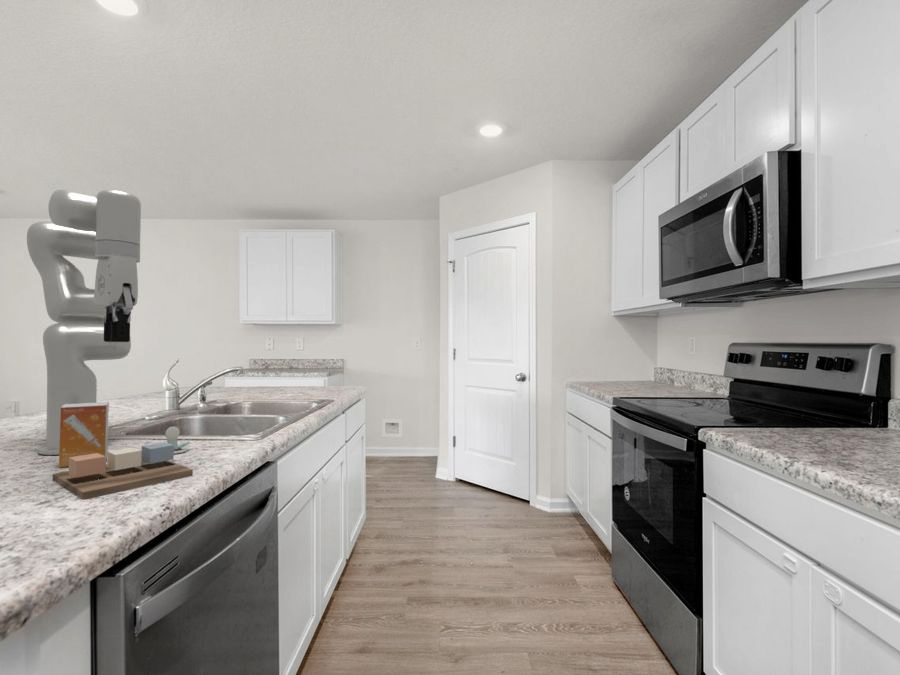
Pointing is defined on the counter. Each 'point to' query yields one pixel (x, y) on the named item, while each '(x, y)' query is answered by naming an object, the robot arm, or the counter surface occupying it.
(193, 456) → the counter surface
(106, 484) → the walnut board
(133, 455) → the cream cube
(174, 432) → the pacifier
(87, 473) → the pink square block
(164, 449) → the blue cube
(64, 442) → the small box
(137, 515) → the counter surface
